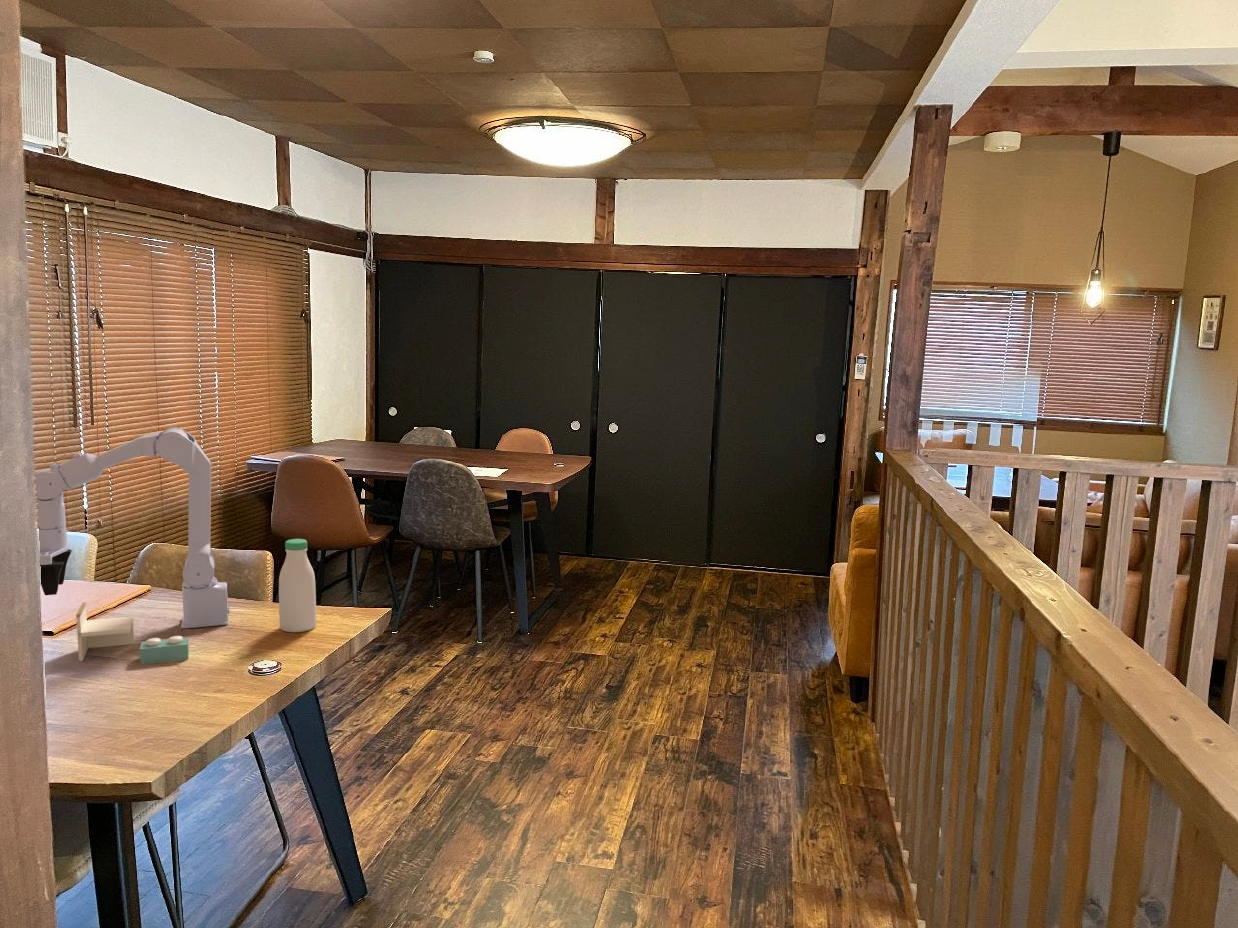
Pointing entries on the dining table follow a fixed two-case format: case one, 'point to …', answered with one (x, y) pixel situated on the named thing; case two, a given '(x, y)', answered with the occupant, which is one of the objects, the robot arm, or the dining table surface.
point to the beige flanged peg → (102, 632)
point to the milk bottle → (297, 589)
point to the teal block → (164, 650)
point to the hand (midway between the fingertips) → (54, 589)
